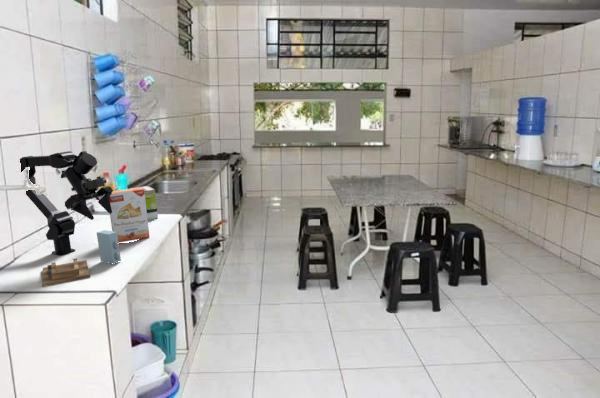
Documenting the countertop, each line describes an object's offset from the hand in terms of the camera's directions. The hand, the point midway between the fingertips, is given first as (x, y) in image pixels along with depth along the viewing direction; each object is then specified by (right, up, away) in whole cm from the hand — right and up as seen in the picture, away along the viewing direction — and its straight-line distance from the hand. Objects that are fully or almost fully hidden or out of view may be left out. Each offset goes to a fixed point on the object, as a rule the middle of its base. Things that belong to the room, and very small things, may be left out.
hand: (102, 216), depth 176 cm
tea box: (-5, -3, +63) cm, 63 cm away
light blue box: (+5, -16, -4) cm, 17 cm away
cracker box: (+2, -11, +24) cm, 27 cm away
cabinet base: (-6, -19, -14) cm, 25 cm away
